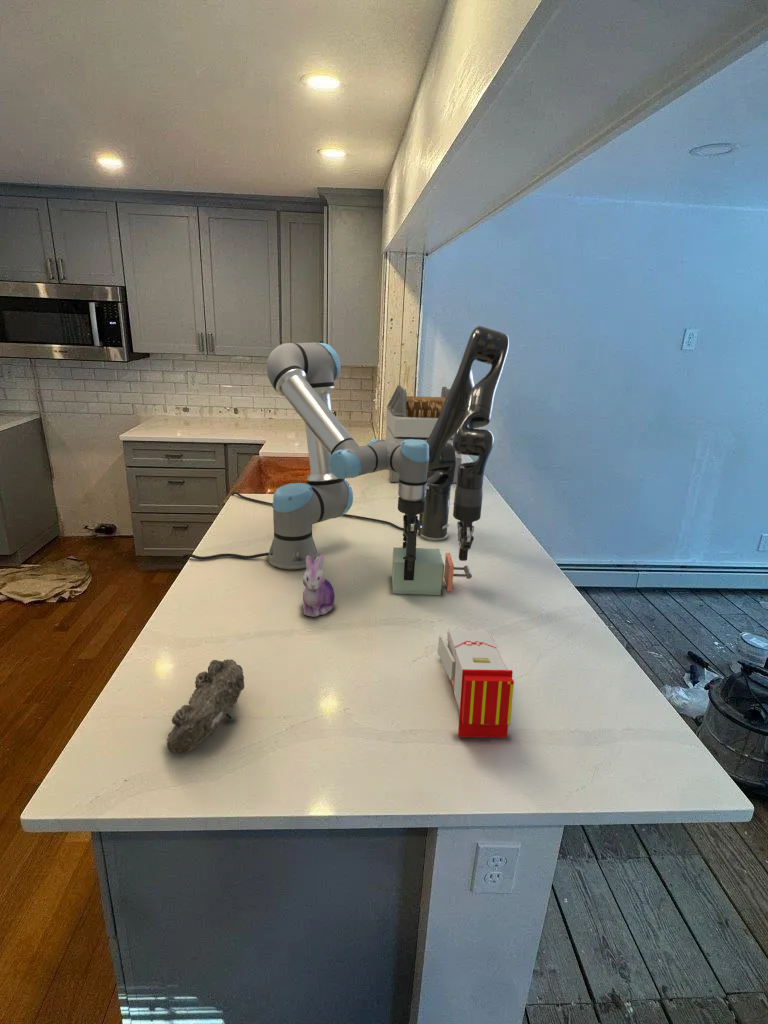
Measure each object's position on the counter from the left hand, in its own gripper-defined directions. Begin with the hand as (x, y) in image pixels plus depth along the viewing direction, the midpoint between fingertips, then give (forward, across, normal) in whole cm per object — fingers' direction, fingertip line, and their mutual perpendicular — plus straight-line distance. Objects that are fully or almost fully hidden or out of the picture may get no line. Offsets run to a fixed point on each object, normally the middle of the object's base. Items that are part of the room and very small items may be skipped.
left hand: (407, 571), depth 161 cm
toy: (+5, -47, -11) cm, 49 cm away
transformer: (+4, +119, -13) cm, 120 cm away
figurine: (+5, -15, +24) cm, 29 cm away
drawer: (+4, 0, -9) cm, 10 cm away
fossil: (+5, -57, +40) cm, 70 cm away
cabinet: (+5, 0, -3) cm, 5 cm away
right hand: (-4, 0, -15) cm, 16 cm away
